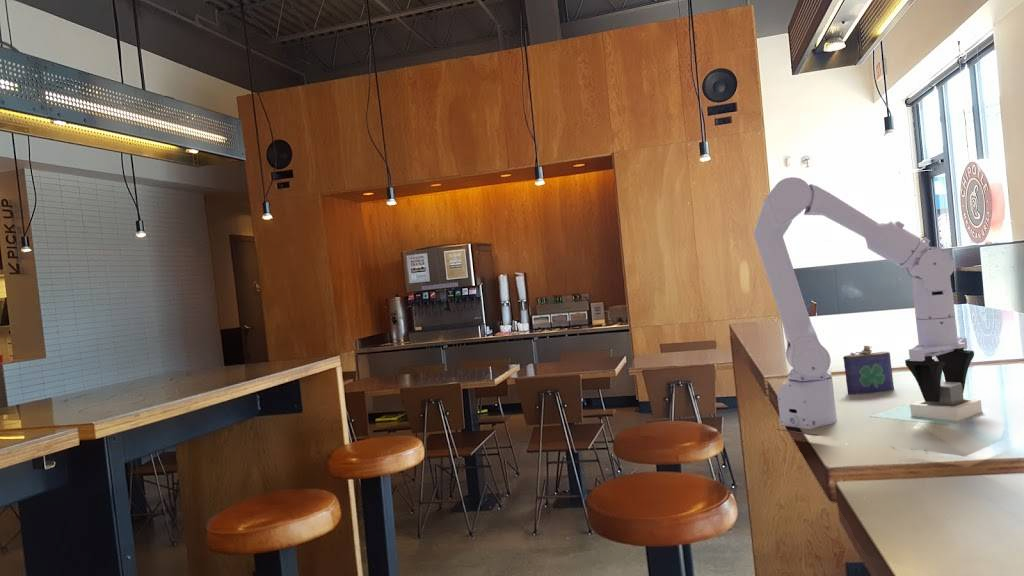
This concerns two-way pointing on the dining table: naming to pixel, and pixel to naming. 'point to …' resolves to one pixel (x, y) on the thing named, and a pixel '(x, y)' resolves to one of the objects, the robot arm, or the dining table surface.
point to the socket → (946, 410)
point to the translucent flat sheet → (905, 414)
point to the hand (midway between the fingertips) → (944, 397)
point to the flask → (868, 372)
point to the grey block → (950, 394)
